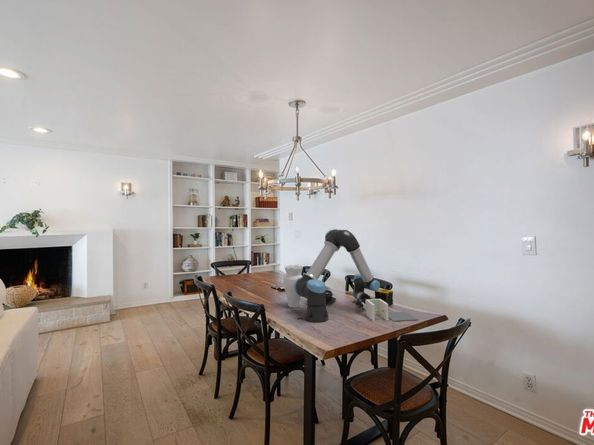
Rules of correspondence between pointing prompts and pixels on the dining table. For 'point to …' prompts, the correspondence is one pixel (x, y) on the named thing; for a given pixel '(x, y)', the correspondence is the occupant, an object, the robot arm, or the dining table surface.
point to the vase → (292, 284)
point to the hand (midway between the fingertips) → (375, 306)
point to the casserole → (329, 297)
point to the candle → (385, 295)
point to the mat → (401, 316)
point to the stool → (376, 308)
